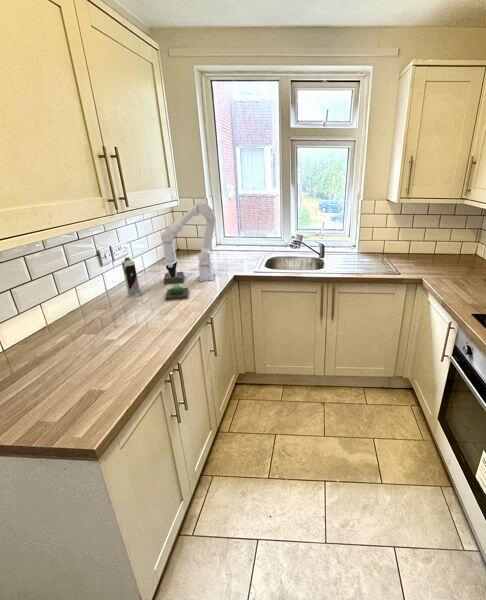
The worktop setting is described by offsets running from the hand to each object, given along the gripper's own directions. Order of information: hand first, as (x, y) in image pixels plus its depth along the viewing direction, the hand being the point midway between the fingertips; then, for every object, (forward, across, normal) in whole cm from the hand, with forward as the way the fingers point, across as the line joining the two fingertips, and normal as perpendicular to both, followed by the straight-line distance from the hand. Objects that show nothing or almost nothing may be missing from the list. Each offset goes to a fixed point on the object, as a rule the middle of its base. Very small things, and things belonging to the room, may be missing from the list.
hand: (173, 276), depth 181 cm
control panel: (+3, -3, 0) cm, 5 cm away
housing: (+3, +23, +3) cm, 23 cm away
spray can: (+4, +17, -18) cm, 25 cm away
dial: (0, 0, 0) cm, 0 cm away
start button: (0, +23, +3) cm, 23 cm away
